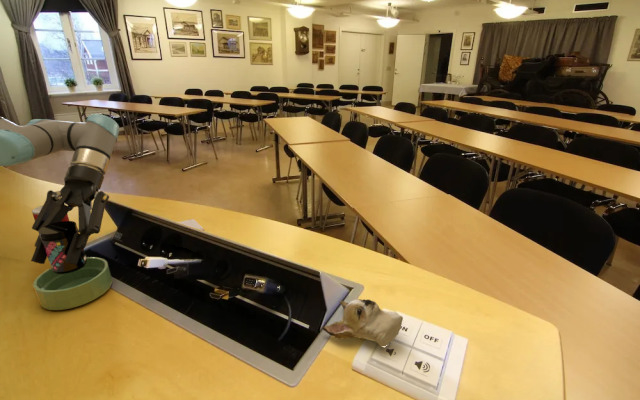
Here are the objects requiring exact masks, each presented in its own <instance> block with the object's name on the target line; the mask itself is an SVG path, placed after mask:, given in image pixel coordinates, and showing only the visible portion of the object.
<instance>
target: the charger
mask: <svg viewBox="0 0 640 400" xmlns="http://www.w3.org/2000/svg"><path fill="white" fill-rule="evenodd" d="M177 223H181V224H184V225H187V226H190V227H193V228H197V229H200V230H203V231H205V229H204V227H203V226H202V225H200V224H199V222H198V221H197V220H196V219H194V218H191V219H186V220H181V221H178V222H177Z"/></svg>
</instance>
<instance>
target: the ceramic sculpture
mask: <svg viewBox="0 0 640 400" xmlns="http://www.w3.org/2000/svg"><path fill="white" fill-rule="evenodd" d="M339 303H340V305H341V307H342V309H343V313H342V320H341V321H340V320H339V321H335V322H333V323H331V324H329V325H326V326H321V327H320V328H321V330H323V331H324V332H325V333H327V334H328V335H330V336H331V337H334V338H336V339H342V340H343V339H350V338H351V339H352V338H357V339H358V338H359V339H364V340H367V341H371V342H372V341H373V342H375V343H376V344H378V345H379V347H381V346H386V345H388V344H389V343H391V342H392V343H393V342H394V340H395V338H397V336H398V335H399V333H400V331H401V327H402V324H403V319H404V317H403V316H402V315H400V314H399V313H398V312H396V311H387V310H383V309H381V308H380V307H379V304H377V302H376V301H374V300H371V299H361V298H356V299H353V300H351V301H350V302H346V301H344V300H340V301H339ZM392 343H391V344H392ZM389 345H390V344H389ZM389 345H388V346H389Z"/></svg>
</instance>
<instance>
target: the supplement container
mask: <svg viewBox="0 0 640 400" xmlns="http://www.w3.org/2000/svg"><path fill="white" fill-rule="evenodd" d="M77 230H79V227H78V225H77V222H76V221H75V220H74V221H73V220H69V221H62V222H56V223H52V224H49V225H46V226H44V227H42V228H41V229H40V230H39V231H37V232H38V235H40V239H41V240H42V243H43V246H44V249H45V252H46V254H47V260H48V263H49V265H50V268H52V271H53V272H54V273H57V274H67V273H72V272H75V271H77V270H79V269H81V268H82V267H84V266H85V264H86V263H87V258H86V257H87V255H86V252H85V248H84V249H82V250H81V253H80V256H79V259H78V263H77V265H75V264H70V263H67V262H65V259H66V256H67V253H68V250H69V247H70V245H71V242H72V239H73V236H74V233H79V232H77ZM79 234H80V233H79Z"/></svg>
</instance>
